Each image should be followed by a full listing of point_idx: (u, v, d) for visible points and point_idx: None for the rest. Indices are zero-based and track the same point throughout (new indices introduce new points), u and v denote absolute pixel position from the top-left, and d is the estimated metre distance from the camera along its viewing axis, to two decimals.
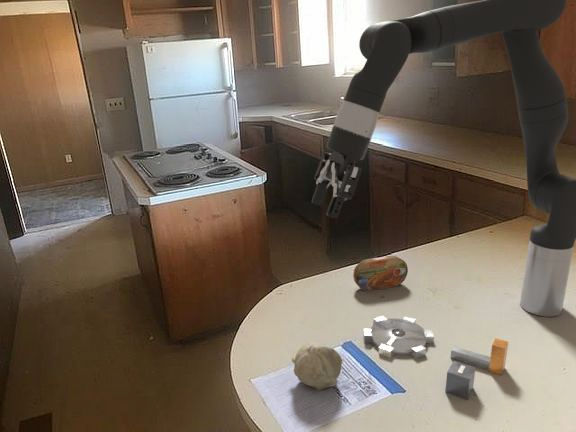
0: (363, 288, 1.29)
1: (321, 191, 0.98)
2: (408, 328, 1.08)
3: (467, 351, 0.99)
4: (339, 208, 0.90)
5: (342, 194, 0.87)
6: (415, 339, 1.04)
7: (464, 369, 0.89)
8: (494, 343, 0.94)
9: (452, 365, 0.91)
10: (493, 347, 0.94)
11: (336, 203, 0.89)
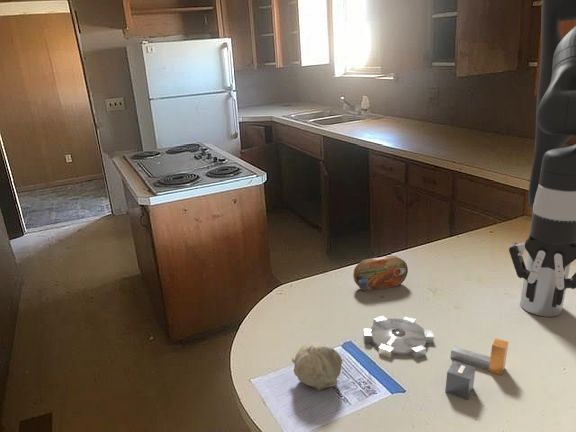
0: (363, 288, 1.29)
1: (536, 287, 0.88)
2: (408, 328, 1.08)
3: (467, 351, 0.99)
4: None
5: None
6: (415, 339, 1.04)
7: (464, 369, 0.89)
8: (494, 343, 0.94)
9: (452, 365, 0.91)
10: (493, 347, 0.94)
11: (563, 293, 0.85)
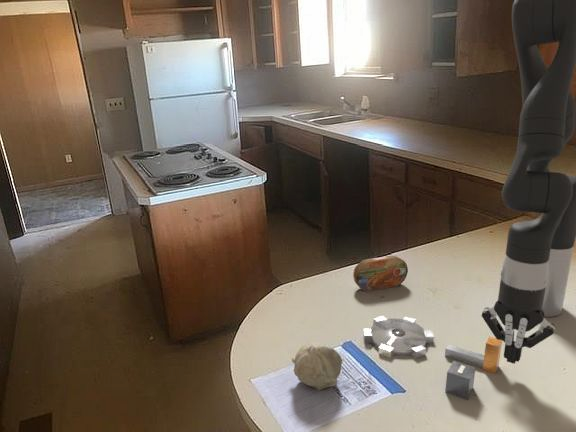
0: (363, 288, 1.29)
1: None
2: (408, 328, 1.08)
3: (461, 349, 1.00)
4: None
5: (531, 346, 0.90)
6: (415, 339, 1.04)
7: (464, 369, 0.89)
8: (487, 342, 0.95)
9: (452, 365, 0.91)
10: (487, 345, 0.94)
11: (521, 351, 0.92)
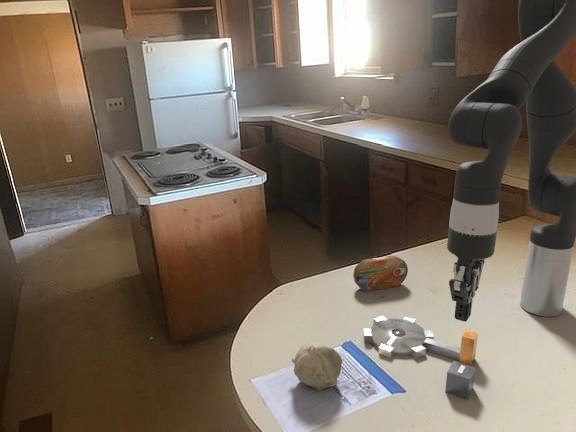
0: (363, 288, 1.29)
1: None
2: (408, 328, 1.08)
3: (439, 343, 1.02)
4: (463, 312, 0.84)
5: (454, 300, 0.83)
6: (415, 339, 1.04)
7: (464, 369, 0.89)
8: (463, 335, 0.97)
9: (452, 365, 0.91)
10: (463, 338, 0.97)
11: (458, 306, 0.84)
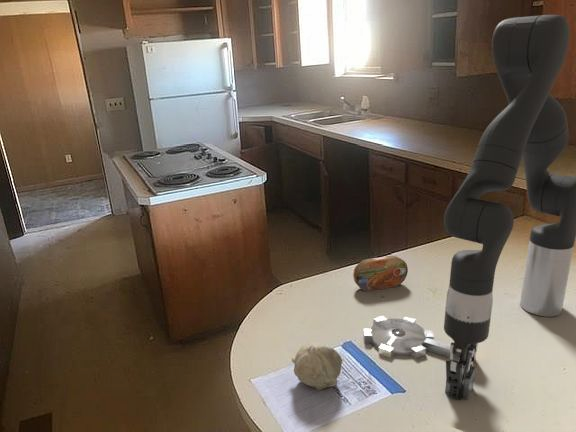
0: (363, 288, 1.29)
1: None
2: (408, 328, 1.08)
3: (439, 343, 1.02)
4: (457, 392, 0.87)
5: (448, 382, 0.86)
6: (415, 339, 1.04)
7: None
8: None
9: None
10: None
11: (452, 387, 0.88)
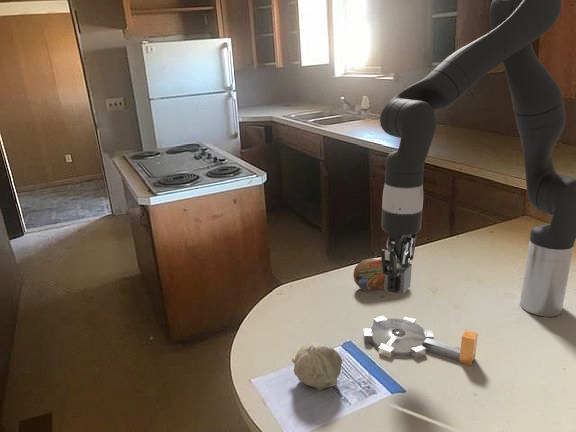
0: (363, 288, 1.29)
1: None
2: (408, 328, 1.08)
3: (439, 343, 1.02)
4: (393, 284, 0.95)
5: (384, 273, 0.94)
6: (415, 339, 1.04)
7: None
8: (463, 335, 0.97)
9: None
10: (463, 338, 0.97)
11: (389, 279, 0.95)
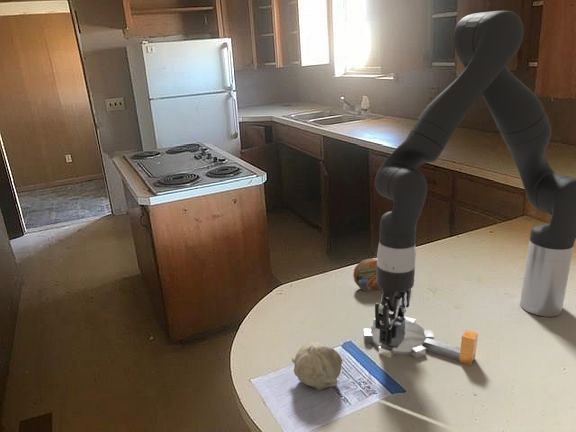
0: (363, 288, 1.29)
1: None
2: (408, 328, 1.08)
3: (439, 343, 1.02)
4: (386, 337, 0.99)
5: (376, 327, 0.97)
6: (415, 339, 1.04)
7: (395, 319, 1.02)
8: (463, 335, 0.97)
9: None
10: (463, 338, 0.97)
11: (381, 332, 0.99)
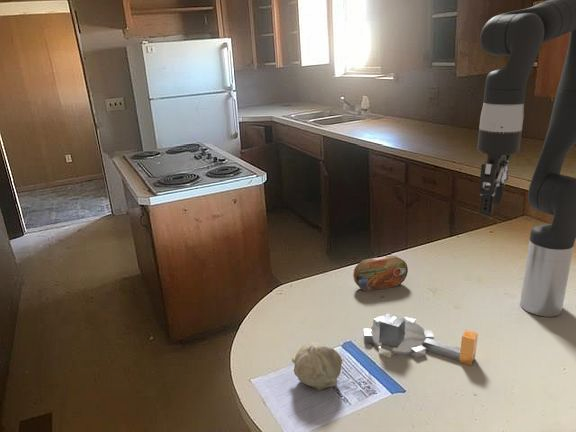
0: (363, 288, 1.29)
1: (496, 190, 1.00)
2: (408, 328, 1.08)
3: (439, 343, 1.02)
4: (488, 205, 0.93)
5: (480, 191, 0.91)
6: (415, 339, 1.04)
7: (395, 319, 1.02)
8: (463, 335, 0.97)
9: (385, 316, 1.03)
10: (463, 338, 0.97)
11: (483, 200, 0.93)
